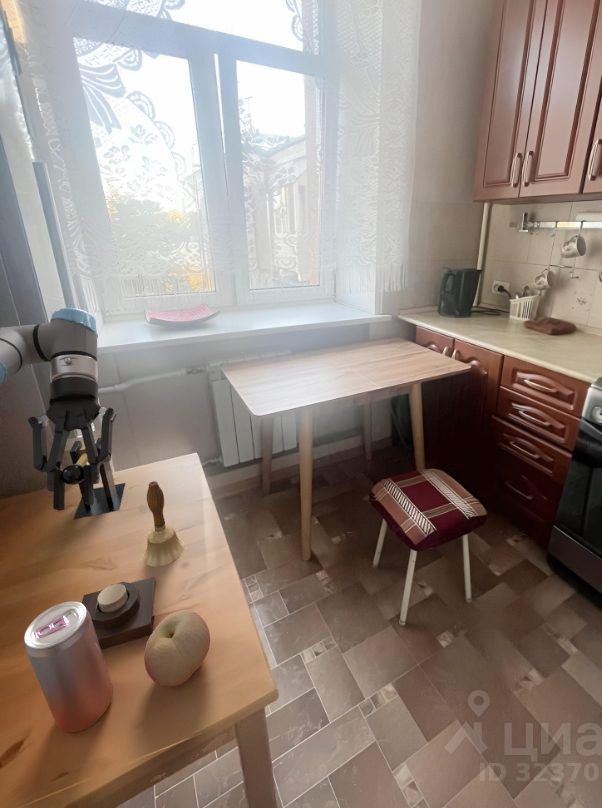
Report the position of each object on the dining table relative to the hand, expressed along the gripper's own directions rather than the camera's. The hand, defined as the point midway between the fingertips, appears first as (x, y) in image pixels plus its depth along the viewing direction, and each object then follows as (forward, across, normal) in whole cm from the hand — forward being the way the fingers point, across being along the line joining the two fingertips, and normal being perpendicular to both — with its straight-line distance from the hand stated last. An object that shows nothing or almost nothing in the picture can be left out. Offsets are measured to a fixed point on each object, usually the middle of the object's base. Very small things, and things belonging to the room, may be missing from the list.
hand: (73, 505), depth 67 cm
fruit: (+27, +16, -11) cm, 34 cm away
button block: (+19, +7, -4) cm, 21 cm away
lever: (-7, 0, +5) cm, 9 cm away
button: (+17, +7, -6) cm, 19 cm away
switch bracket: (-3, 0, +18) cm, 18 cm away
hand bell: (+12, +13, +4) cm, 18 cm away
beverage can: (+28, +5, -12) cm, 31 cm away
